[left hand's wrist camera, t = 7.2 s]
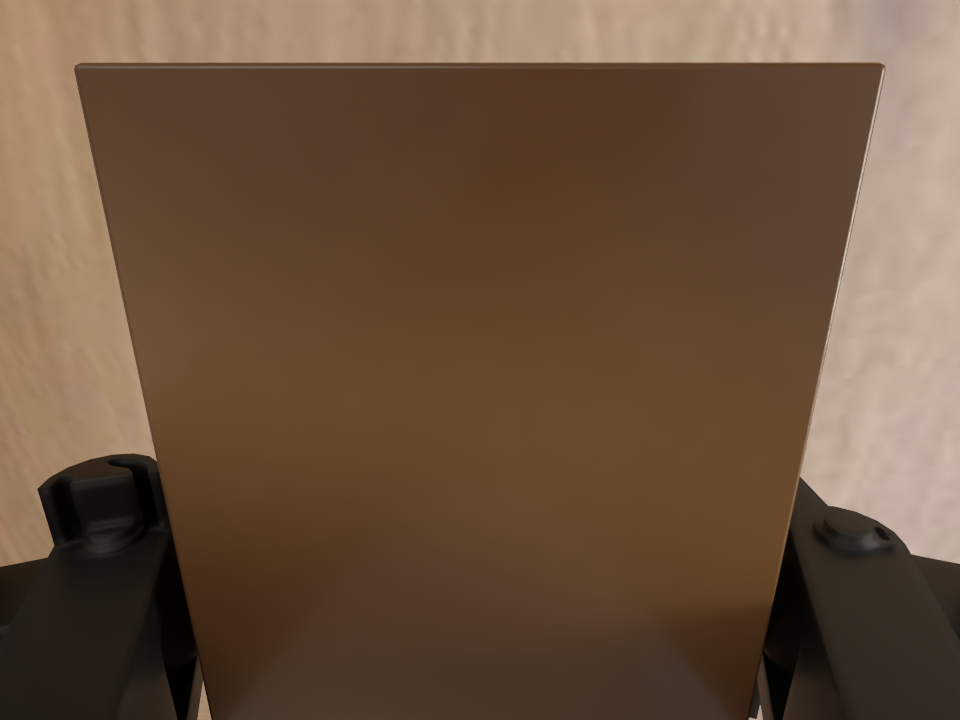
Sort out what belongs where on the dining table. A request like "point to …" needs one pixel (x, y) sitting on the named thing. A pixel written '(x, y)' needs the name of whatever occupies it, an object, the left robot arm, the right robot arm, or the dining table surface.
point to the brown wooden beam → (479, 369)
